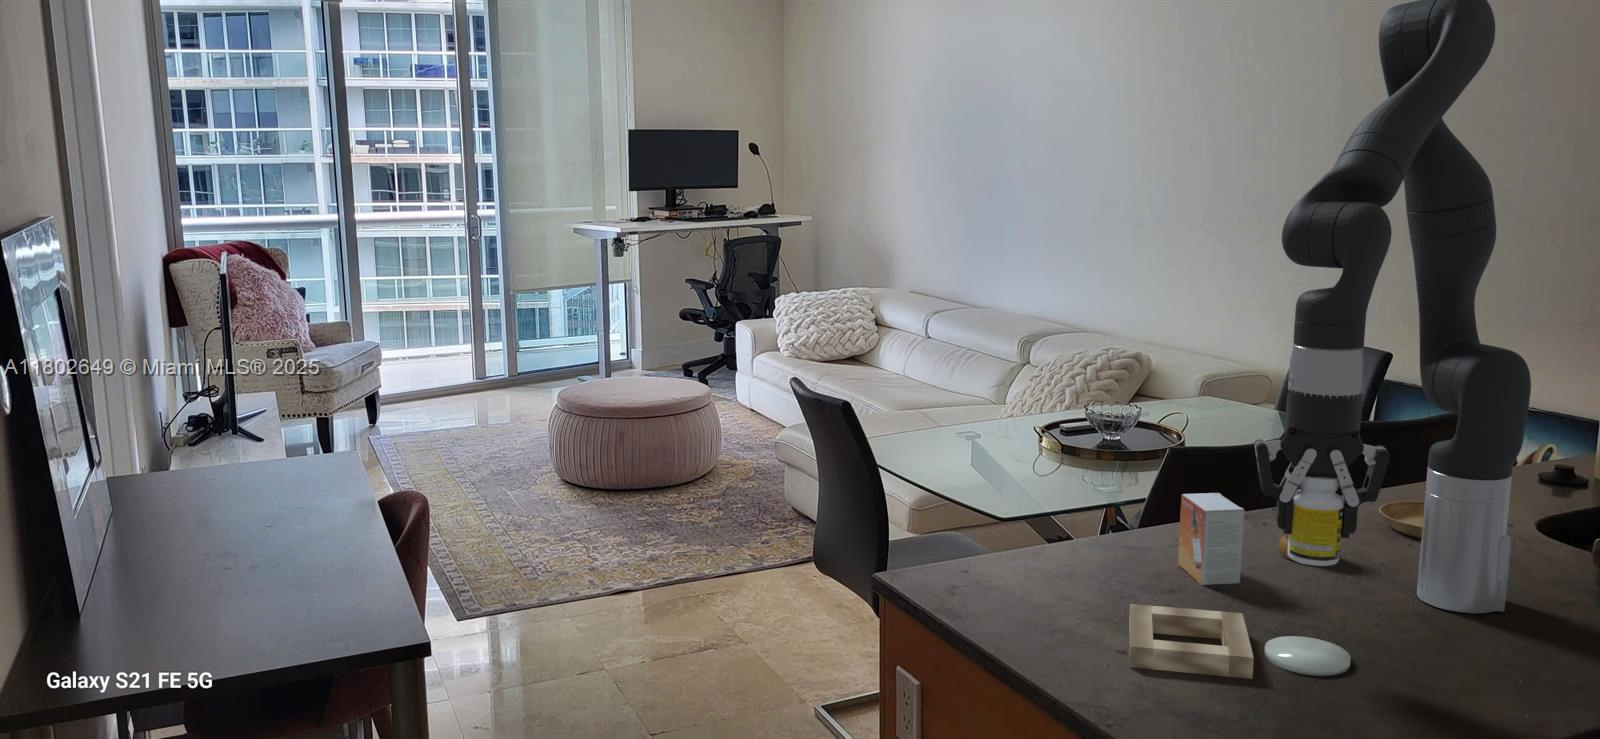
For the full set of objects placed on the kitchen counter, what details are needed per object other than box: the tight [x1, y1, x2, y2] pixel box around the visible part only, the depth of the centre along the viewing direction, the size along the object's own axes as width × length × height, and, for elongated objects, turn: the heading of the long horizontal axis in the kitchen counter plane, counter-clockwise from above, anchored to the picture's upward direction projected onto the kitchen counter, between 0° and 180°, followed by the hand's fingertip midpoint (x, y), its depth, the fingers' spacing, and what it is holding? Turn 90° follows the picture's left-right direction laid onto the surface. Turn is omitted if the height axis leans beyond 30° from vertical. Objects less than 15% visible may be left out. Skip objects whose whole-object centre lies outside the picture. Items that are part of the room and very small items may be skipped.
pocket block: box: [1128, 603, 1255, 680], centre depth 137 cm, size 13×13×2 cm
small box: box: [1177, 492, 1246, 586], centre depth 160 cm, size 8×6×10 cm
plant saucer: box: [1378, 500, 1425, 539], centre depth 179 cm, size 15×15×3 cm
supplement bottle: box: [1287, 476, 1344, 567], centre depth 131 cm, size 5×5×10 cm
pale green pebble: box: [1264, 635, 1352, 677], centre depth 134 cm, size 9×9×1 cm
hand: (1314, 533), depth 132 cm, fingers closed on supplement bottle, 5 cm apart
